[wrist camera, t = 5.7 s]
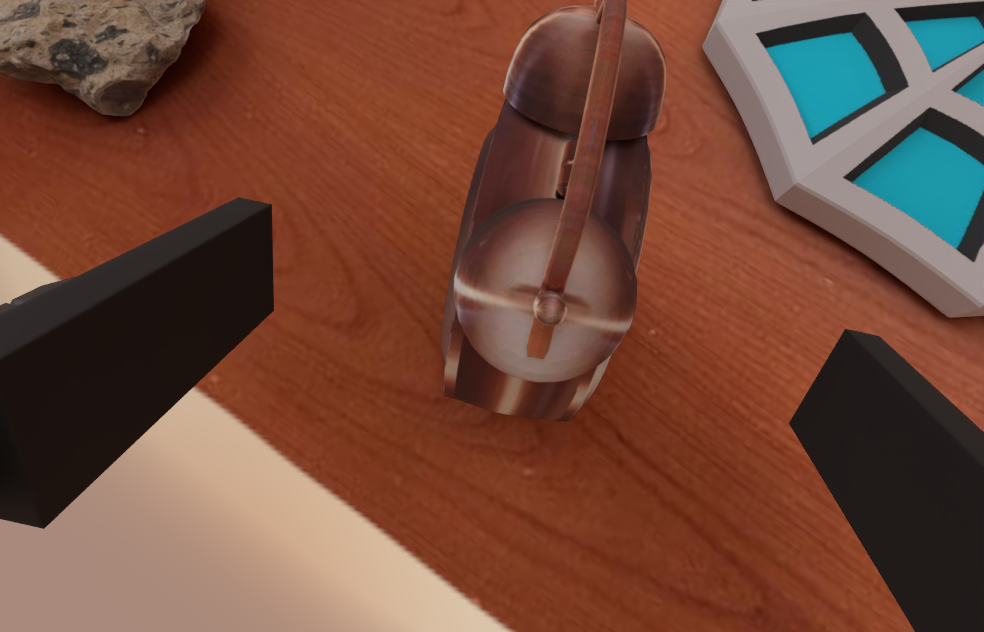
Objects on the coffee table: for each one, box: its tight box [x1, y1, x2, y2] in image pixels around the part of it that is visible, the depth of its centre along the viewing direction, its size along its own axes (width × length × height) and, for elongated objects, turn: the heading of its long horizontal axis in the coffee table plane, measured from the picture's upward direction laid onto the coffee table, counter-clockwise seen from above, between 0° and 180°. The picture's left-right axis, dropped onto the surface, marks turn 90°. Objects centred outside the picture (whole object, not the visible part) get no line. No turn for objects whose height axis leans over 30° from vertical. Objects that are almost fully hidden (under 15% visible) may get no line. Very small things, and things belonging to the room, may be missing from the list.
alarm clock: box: [441, 0, 666, 421], centre depth 17 cm, size 11×5×15 cm, turn 168°
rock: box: [0, 0, 206, 116], centre depth 25 cm, size 11×11×4 cm
